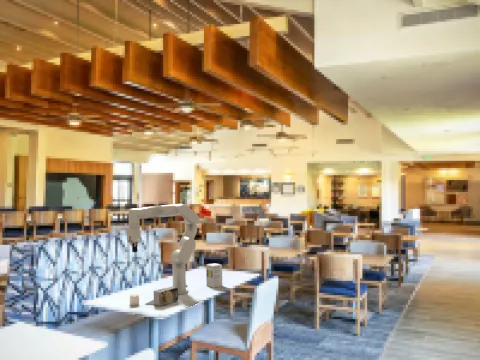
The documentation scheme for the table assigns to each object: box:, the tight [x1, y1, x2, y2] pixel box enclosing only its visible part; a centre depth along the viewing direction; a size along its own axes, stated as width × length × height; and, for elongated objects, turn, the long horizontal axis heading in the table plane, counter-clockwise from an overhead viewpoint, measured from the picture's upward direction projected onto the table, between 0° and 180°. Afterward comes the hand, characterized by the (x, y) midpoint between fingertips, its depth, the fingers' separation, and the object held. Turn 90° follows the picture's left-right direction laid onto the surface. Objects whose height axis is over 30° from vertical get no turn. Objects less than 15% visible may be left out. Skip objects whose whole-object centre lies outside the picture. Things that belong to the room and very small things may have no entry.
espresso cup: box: [129, 294, 140, 307], centre depth 273 cm, size 6×6×6 cm
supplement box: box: [205, 262, 223, 288], centre depth 322 cm, size 10×9×17 cm
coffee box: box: [153, 286, 179, 307], centre depth 275 cm, size 9×6×16 cm
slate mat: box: [145, 299, 174, 307], centre depth 277 cm, size 15×16×1 cm
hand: (134, 252), depth 288 cm, fingers closed
